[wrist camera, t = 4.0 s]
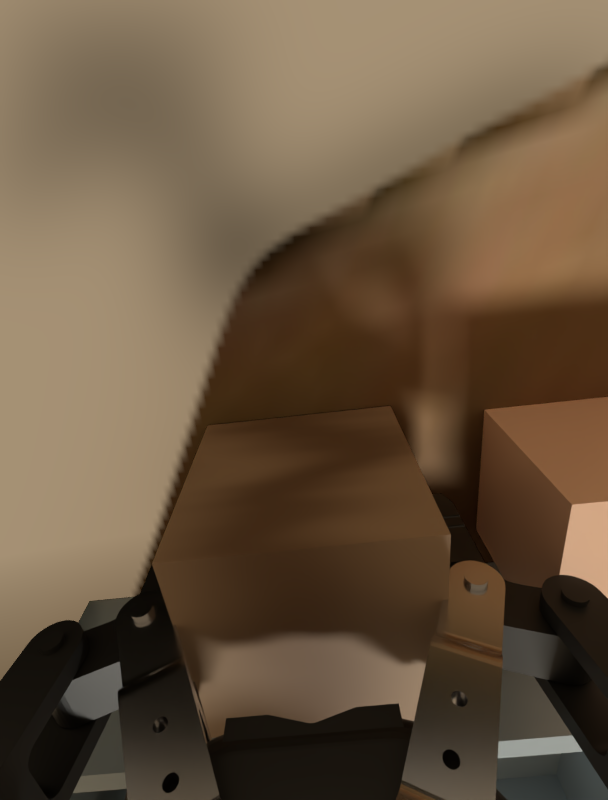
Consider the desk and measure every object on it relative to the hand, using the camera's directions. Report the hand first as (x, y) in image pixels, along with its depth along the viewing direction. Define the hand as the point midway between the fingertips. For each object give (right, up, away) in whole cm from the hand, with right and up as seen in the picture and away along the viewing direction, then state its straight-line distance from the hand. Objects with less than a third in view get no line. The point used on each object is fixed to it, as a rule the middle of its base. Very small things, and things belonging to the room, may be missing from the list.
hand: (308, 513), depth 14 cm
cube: (+9, +1, +1) cm, 9 cm away
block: (0, +1, +1) cm, 1 cm away
